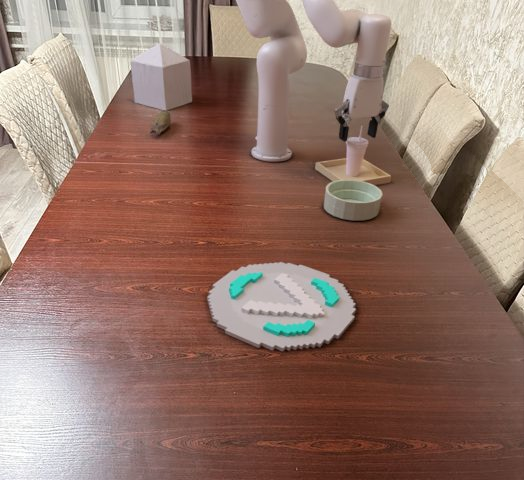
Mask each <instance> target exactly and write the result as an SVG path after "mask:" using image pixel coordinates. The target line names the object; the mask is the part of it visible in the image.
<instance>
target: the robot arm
mask: <svg viewBox="0 0 524 480" xmlns="http://www.w3.org/2000/svg"><path fill="white" fill-rule="evenodd" d="M301 1H302V5H303V7H304V11H305V14H306V17H307V18H308V21H309V22H310V24H311V25H312V27H313V28H314V30H315V32H317V34H318V36H319V37H320V38H321V39H322V41H323V42H324V43H326V45H328V46H329V47H331V48H335V49H338V48H343V47H345V46H348V45H352V44H357V45H356V54H355V58H354V65H353V66H354V67H353V73H352V75H350V76H349V78H348V80H347V83H346V87H345V91H344V95H343V100H342V103H341V104H339V105H338V106H336V107H335V108H334V109H333V111H334V115H335V120H337V122H338V124H339V131H338V139H339V140H340V141H342V142H343V143H344V142H345V143H346V141H347V138H349V132H350V131H349V130H350V127H349V126H348V125H349V124H350V123H351V121H352V120H357V119H367V118H370V119H369V122H368V126H367V127H368V128H367V133H366V135H367V136H369V137H371V138H373V139H376V137H377V132H378V127H379V124H380V123H381V122H382V119H383V118H384V117H385V116H386V113H387V111H388V109H389V107H390V104H388V103H387V101H385V100H383V95H384V77H383V74H384V71H386V70H387V65H386V64H385V61H386V57H387V51H388V45H389V41H390V34H391V30H392V19H391V18H390V17H389V16H387V15H383V14H378V13H377V14H376V13H375V14H374V13H372V14H371V13H367V12H364V11H361V10H358V9H346V10H340V8H339V7H338V5H337V4H336V2H335V0H301ZM235 3H236V4H237V7H238V10H239V12H240V14H241V17H242V20H243V23H244V24H245V27H246V29H247V31H248V33H249V34H250V35H251V36H252V37H253V38H257V39H263V38H264V39H265V38H268V37H269V38H270V40H269V41H267V42H265V43H264V44H263V45H261V47H260V48H259V50H258V52H257V55H256V72H257V73H256V74H257V81H258V96H257V97H258V98H257V103H258V104H257V125H256V126H257V127H256V136H255V140H256V146H254V147H252V149H251V155H252V157H253V158H255V159H257V160H259V161H263V162H269V163H279V162H285V161H287V160H290V158H292V155H293V151H292V150H291V149H290V148H289V147H288V140H289V128H290V115H291V98H292V87H291V82H290V75H292V74H293V73H296V72H299V71H300V70H301V69H302V68H303V67H304V66H305V64H306V62H307V58H308V49H307V45H306V42H305V38H304V36H303V33H302V31H301V29H300V26H299V23H298V21H297V18H296V16H295V12H294V10H293V7H292V6H291V5H290V3H289V2H288V0H235Z"/></svg>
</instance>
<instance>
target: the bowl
mask: <svg viewBox="0 0 524 480" xmlns="http://www.w3.org/2000/svg"><path fill="white" fill-rule="evenodd" d="M383 195H384V194H383V191H382V189H380V188H379V187H378V185H373V184H370V183H367V182H363V181H358V180H338V181H331V182H329V183H327V184H326V186H325V190H324V196H323V209H324V210H325V211H326V213H328V214H329V215H331V216H332V217H335V218H338V219H342V220H347V221H367V220H371V219H373V218H376V217H377V216H378V215H379V213H380V210H381V204H382V200H383Z"/></svg>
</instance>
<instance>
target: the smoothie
mask: <svg viewBox="0 0 524 480" xmlns="http://www.w3.org/2000/svg"><path fill="white" fill-rule="evenodd" d="M359 128H360V129H359V135H358V136H349V137H347V141H345V145H346V154H345V155H346V157H345V158H346V174H347V175H348V176H358V175H359V171H360V168H361V165H362V161H363V159H365V158H364V157H365V154H366V151H367V150H366V149H367V148H368V146H369V140H368V139H367V138H364V137H362V135H363V128H364V124H360V127H359Z"/></svg>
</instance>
